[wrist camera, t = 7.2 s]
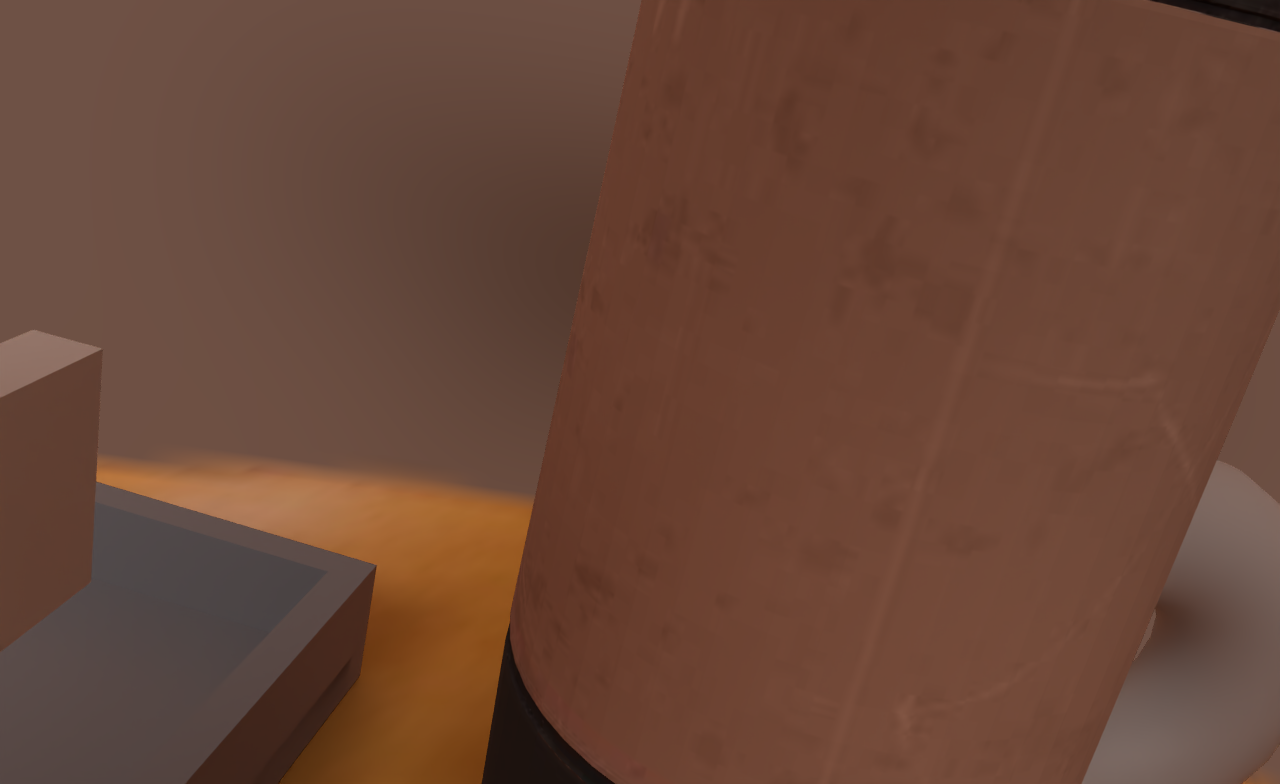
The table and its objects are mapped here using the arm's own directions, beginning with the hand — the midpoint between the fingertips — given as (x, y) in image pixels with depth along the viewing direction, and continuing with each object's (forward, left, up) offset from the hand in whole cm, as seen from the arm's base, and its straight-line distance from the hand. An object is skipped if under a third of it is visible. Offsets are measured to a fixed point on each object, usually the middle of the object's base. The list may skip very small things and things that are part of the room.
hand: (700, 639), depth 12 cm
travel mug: (-1, -4, -11) cm, 12 cm away
